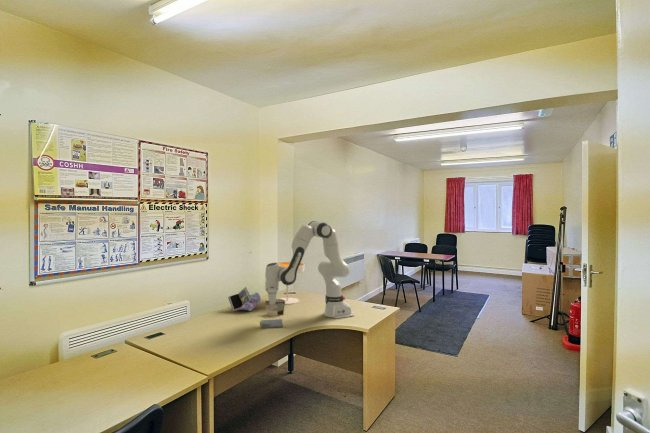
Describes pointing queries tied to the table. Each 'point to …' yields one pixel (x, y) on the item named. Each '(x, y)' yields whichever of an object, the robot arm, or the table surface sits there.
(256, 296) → the pastel lumpy piece
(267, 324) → the mat
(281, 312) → the half chocolate cake
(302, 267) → the orange pedestal table
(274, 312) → the tall wooden block
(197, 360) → the table surface
